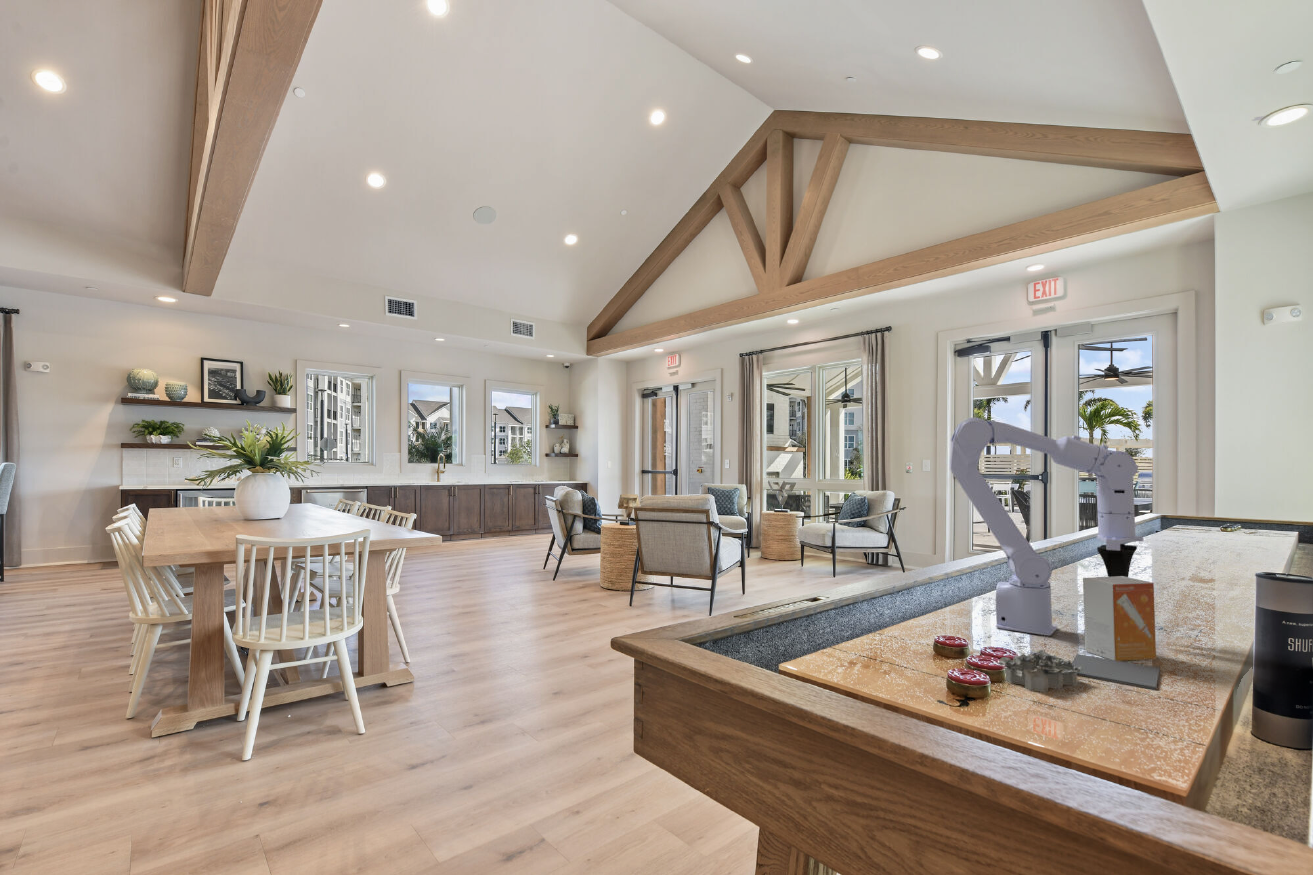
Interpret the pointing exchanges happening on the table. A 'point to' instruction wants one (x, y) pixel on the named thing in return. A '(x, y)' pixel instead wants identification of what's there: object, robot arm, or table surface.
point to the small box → (1119, 618)
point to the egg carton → (1040, 671)
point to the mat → (1117, 671)
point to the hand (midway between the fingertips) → (1118, 584)
